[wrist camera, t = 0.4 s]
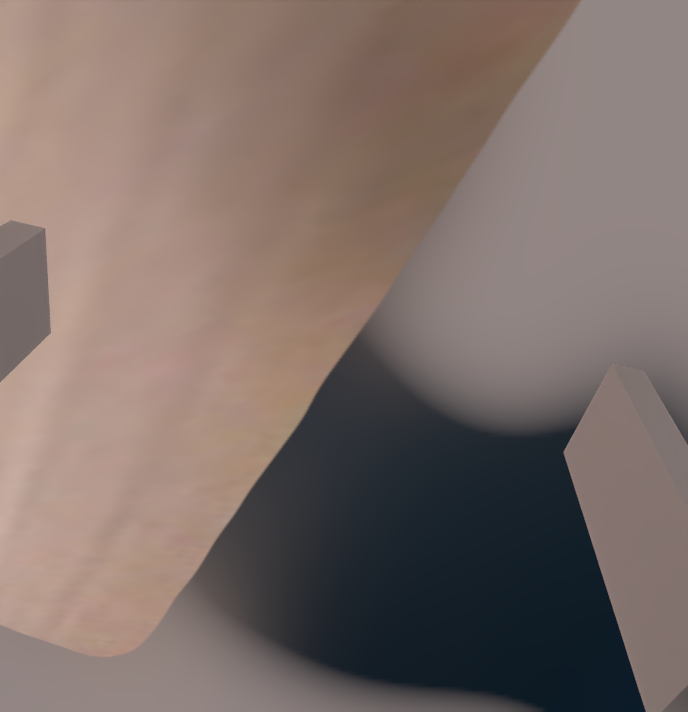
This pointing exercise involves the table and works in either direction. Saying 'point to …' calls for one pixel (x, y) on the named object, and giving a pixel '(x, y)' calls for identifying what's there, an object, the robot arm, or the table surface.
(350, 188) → the table surface
